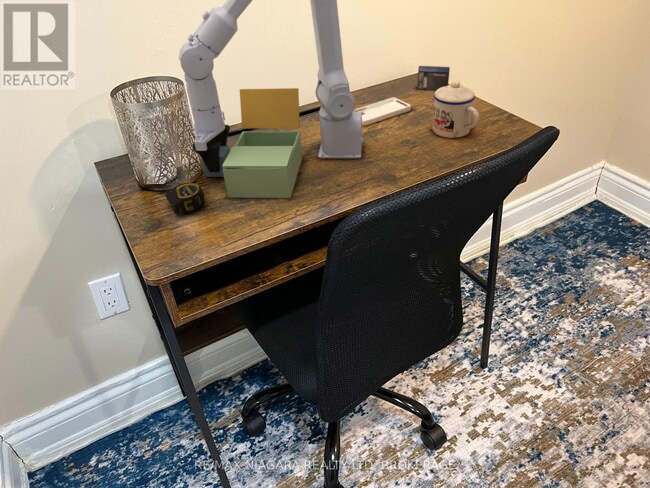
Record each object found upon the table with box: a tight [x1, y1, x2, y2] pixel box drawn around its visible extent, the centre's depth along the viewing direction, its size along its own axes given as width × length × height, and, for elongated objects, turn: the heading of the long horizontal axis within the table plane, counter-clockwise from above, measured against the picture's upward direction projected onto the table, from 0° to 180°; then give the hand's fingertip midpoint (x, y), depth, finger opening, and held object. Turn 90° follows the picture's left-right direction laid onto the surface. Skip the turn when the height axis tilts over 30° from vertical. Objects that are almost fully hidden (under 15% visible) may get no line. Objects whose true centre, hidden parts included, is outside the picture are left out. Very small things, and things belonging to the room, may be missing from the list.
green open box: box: [222, 130, 303, 199], centre depth 108 cm, size 17×13×7 cm
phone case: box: [353, 97, 412, 127], centre depth 131 cm, size 7×1×15 cm
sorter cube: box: [200, 145, 231, 178], centre depth 111 cm, size 5×5×5 cm
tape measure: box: [165, 182, 205, 216], centre depth 101 cm, size 7×7×4 cm
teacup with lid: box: [432, 80, 480, 139], centre depth 118 cm, size 12×9×12 cm
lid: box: [239, 87, 301, 130], centre depth 111 cm, size 8×13×1 cm
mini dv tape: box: [416, 65, 451, 91], centre depth 141 cm, size 8×2×6 cm, turn 75°
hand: (218, 165), depth 111 cm, fingers closed on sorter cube, 5 cm apart
